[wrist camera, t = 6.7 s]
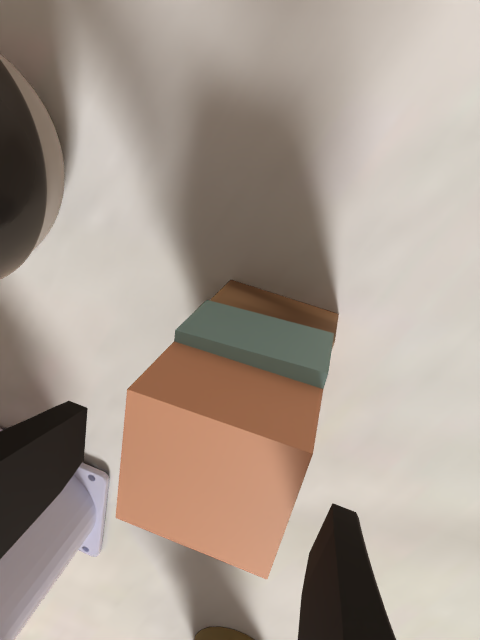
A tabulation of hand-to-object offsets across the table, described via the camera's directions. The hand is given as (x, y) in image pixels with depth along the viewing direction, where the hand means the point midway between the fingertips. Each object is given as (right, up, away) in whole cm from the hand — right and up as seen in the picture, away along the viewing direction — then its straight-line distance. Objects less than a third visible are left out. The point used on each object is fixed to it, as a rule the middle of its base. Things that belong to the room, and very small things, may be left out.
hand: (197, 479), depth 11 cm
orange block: (+1, +1, +3) cm, 3 cm away
